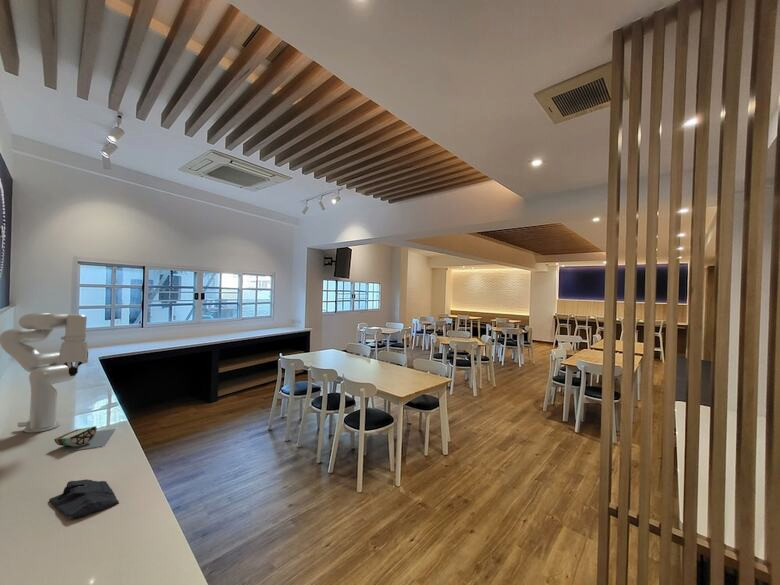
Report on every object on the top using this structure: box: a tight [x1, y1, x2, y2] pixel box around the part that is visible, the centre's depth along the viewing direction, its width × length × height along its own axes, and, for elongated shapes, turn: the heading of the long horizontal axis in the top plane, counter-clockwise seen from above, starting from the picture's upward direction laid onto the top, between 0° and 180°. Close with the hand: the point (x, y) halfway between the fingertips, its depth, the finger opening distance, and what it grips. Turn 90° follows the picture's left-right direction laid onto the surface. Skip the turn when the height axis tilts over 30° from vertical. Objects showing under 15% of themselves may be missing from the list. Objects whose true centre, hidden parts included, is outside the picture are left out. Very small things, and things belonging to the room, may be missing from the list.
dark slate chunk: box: [48, 479, 120, 519], centre depth 111 cm, size 15×22×5 cm
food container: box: [53, 425, 98, 447], centre depth 151 cm, size 12×6×10 cm
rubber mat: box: [67, 428, 116, 453], centre depth 157 cm, size 12×22×1 cm, turn 30°
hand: (72, 375), depth 164 cm, fingers closed
